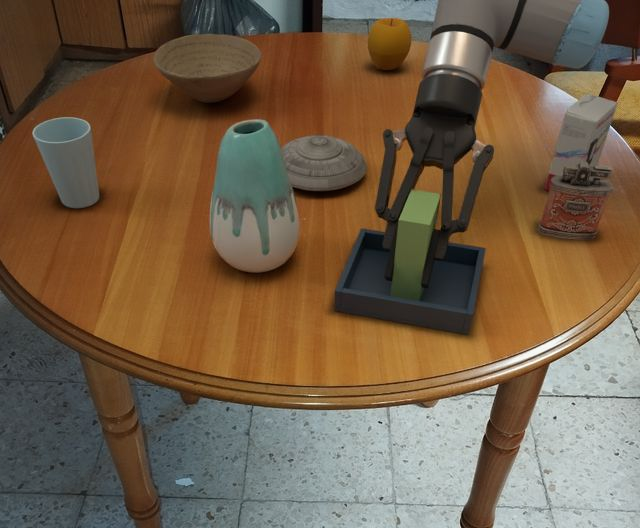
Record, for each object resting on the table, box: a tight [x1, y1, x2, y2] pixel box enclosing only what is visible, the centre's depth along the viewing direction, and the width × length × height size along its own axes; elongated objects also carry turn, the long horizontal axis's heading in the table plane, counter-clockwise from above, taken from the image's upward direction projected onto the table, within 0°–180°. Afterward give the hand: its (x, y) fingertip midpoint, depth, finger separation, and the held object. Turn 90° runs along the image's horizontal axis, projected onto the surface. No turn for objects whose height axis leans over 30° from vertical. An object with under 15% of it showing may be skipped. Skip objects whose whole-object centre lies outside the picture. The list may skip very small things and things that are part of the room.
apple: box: [367, 17, 413, 71], centre depth 130 cm, size 8×8×9 cm
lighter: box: [536, 161, 614, 240], centre depth 92 cm, size 8×3×10 cm, turn 80°
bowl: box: [153, 33, 262, 104], centre depth 121 cm, size 18×18×8 cm
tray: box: [333, 227, 487, 336], centre depth 85 cm, size 17×14×3 cm
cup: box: [31, 116, 100, 209], centre depth 96 cm, size 8×8×10 cm
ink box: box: [544, 93, 618, 192], centre depth 100 cm, size 9×5×12 cm, turn 143°
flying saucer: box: [280, 134, 368, 192], centre depth 104 cm, size 15×15×6 cm
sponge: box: [391, 189, 442, 301], centre depth 82 cm, size 4×7×11 cm, turn 163°
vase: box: [209, 118, 301, 274], centre depth 84 cm, size 12×12×18 cm
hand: (406, 282), depth 81 cm, fingers open, 4 cm apart
